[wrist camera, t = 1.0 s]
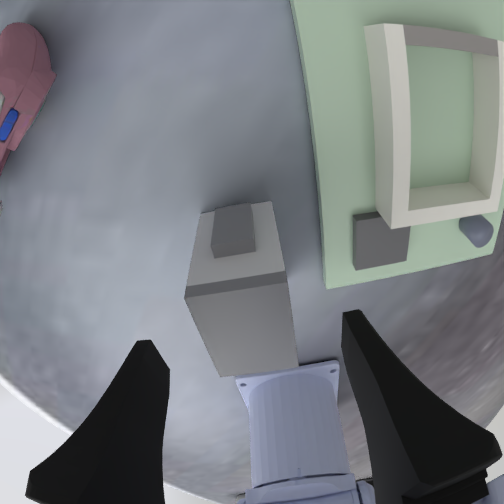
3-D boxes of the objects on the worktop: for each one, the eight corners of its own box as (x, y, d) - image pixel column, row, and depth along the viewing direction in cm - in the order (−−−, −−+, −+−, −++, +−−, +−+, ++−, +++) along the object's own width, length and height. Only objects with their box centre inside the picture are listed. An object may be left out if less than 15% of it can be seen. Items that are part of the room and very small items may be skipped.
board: (486, 246, 17) (508, 271, 15) (323, 280, 18) (334, 315, 16) (500, 1, 8) (534, 3, 6) (284, -25, 9) (295, -44, 7)
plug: (284, 279, 18) (298, 366, 13) (223, 289, 18) (220, 377, 13) (269, 189, 15) (285, 267, 10) (197, 202, 15) (178, 284, 10)
